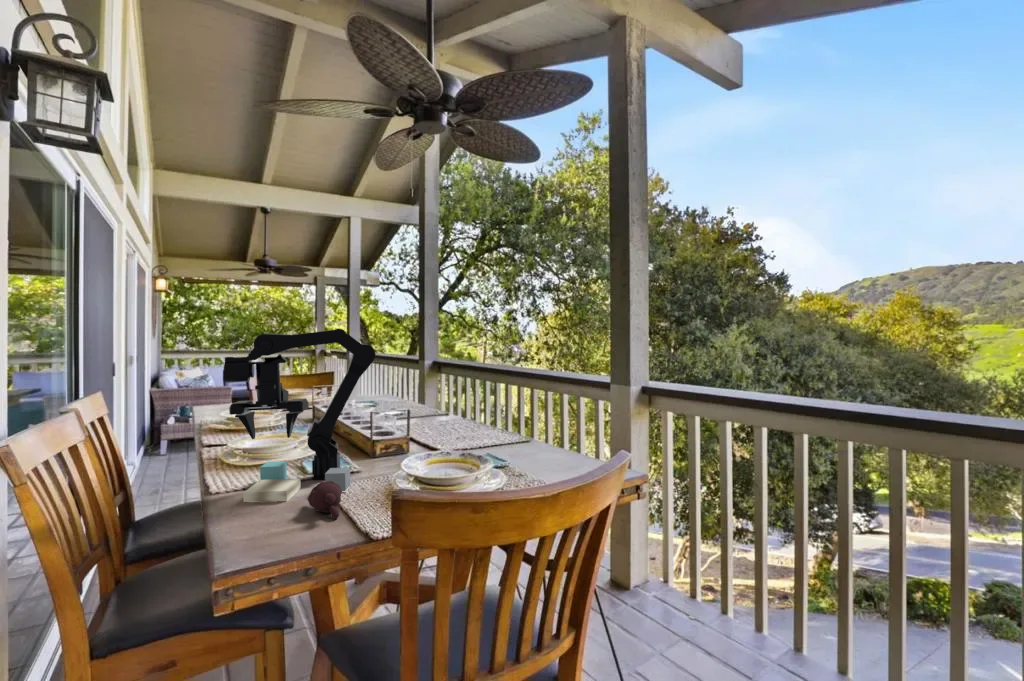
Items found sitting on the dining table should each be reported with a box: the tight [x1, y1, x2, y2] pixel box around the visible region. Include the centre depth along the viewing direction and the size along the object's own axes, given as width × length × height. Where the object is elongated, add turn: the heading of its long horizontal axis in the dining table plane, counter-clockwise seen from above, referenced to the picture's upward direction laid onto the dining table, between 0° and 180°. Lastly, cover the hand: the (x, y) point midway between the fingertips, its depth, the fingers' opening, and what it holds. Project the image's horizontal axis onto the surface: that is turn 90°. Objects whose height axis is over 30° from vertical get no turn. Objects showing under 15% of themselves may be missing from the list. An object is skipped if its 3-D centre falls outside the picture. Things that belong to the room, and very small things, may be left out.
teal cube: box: [259, 460, 288, 481], centre depth 140 cm, size 5×5×5 cm
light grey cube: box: [324, 467, 351, 491], centre depth 133 cm, size 5×5×5 cm
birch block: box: [242, 478, 302, 503], centre depth 129 cm, size 10×10×3 cm
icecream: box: [307, 481, 342, 520], centre depth 118 cm, size 7×7×15 cm
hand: (271, 438), depth 140 cm, fingers open, 9 cm apart
